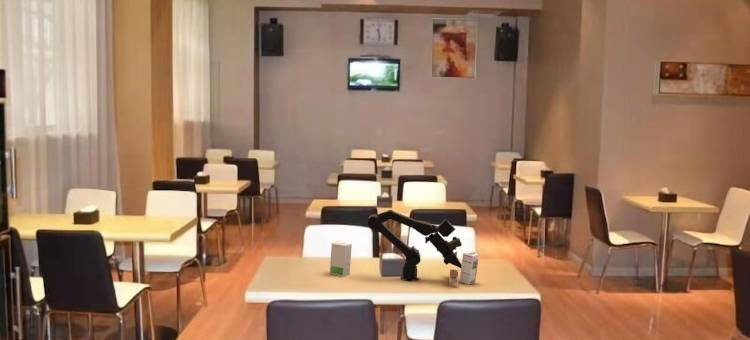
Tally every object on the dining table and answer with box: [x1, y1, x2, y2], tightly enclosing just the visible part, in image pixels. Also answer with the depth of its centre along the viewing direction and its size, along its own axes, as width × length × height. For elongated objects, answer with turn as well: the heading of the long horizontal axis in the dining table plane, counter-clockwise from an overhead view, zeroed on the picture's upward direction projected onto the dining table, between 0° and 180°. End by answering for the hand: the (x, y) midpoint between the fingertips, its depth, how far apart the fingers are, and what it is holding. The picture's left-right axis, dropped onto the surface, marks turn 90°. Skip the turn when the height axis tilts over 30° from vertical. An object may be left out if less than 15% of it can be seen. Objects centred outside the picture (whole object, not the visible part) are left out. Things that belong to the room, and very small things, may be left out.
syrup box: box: [458, 250, 480, 286], centre depth 332 cm, size 6×6×14 cm
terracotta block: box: [449, 269, 459, 278], centre depth 339 cm, size 4×4×4 cm
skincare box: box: [329, 240, 353, 278], centre depth 339 cm, size 8×7×16 cm
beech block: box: [448, 275, 459, 288], centre depth 327 cm, size 4×4×4 cm
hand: (461, 267), depth 333 cm, fingers closed
